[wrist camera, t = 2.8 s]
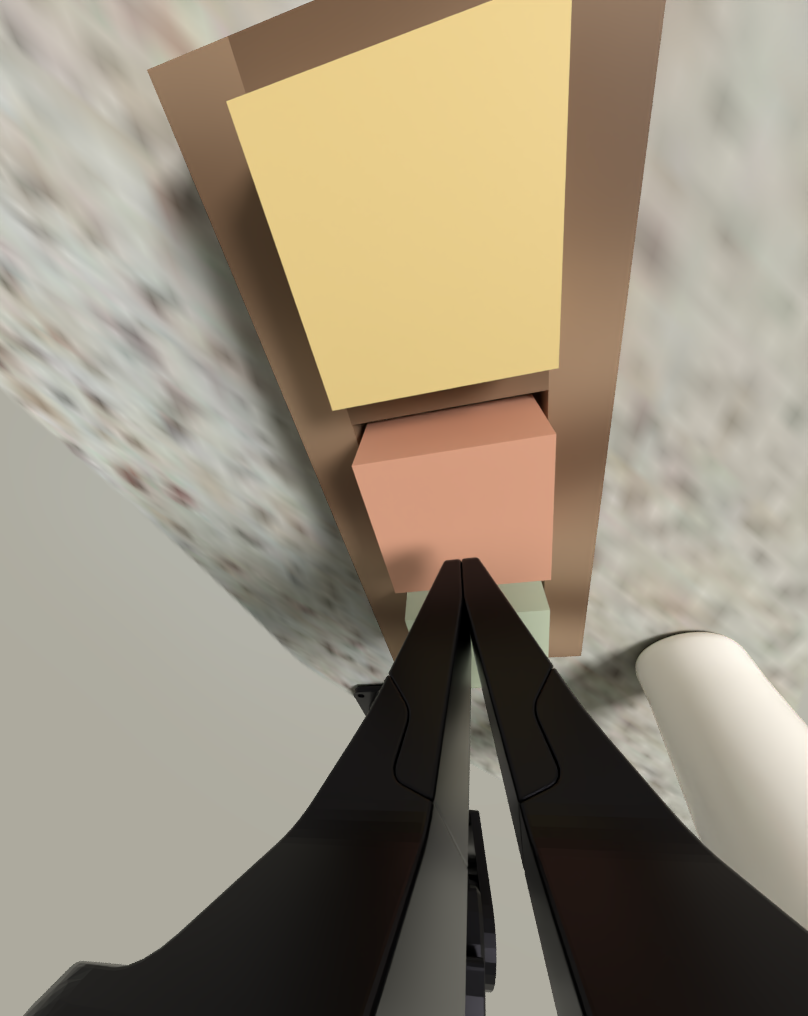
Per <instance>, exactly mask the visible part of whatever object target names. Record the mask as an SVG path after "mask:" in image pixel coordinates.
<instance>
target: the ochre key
mask: <svg viewBox="0 0 808 1016" xmlns="http://www.w3.org/2000/svg"><path fill="white" fill-rule="evenodd" d="M571 11H572V0H492V1H489V2H486V3H484V4H481V5H478V6H476V7H473V8H470V9H468V10H465V11H463V12H460V13H457V14H455V15H452V16H449V17H447V18H444V19H442V20H439V21H436V22H434V23H431V24H428V25H426V26H423V27H420V28H418V29H415V30H413V31H410V32H407V33H405V34H402V35H399V36H397V37H394V38H392V39H389V40H386V41H384V42H381V43H378V44H376V45H373V46H371V47H368V48H365V49H363V50H360V51H357V52H355V53H352V54H349V55H347V56H344V57H342V58H339V59H336V60H334V61H331V62H328V63H326V64H323V65H321V66H318V67H315V68H313V69H310V70H307V71H305V72H302V73H299V74H297V75H294V76H292V77H289V78H286V79H284V80H281V81H278V82H276V83H273V84H271V85H268V86H265V87H263V88H260V89H257V90H255V91H252V92H250V93H247V94H244V95H242V96H239V97H236V98H234V99H231V100H228V101H226V102H227V105H228V108H229V111H230V114H231V117H232V120H233V123H234V126H235V129H236V131H237V134H238V137H239V140H240V143H241V146H242V149H243V152H244V155H245V158H246V161H247V163H248V166H249V169H250V172H251V175H252V178H253V181H254V184H255V187H256V190H257V192H258V195H259V198H260V201H261V204H262V207H263V210H264V213H265V216H266V219H267V222H268V224H269V227H270V230H271V233H272V236H273V239H274V242H275V245H276V248H277V251H278V254H279V256H280V259H281V262H282V265H283V268H284V271H285V274H286V277H287V280H288V283H289V285H290V288H291V291H292V294H293V297H294V300H295V303H296V306H297V309H298V312H299V315H300V317H301V320H302V323H303V326H304V329H305V332H306V335H307V338H308V341H309V344H310V346H311V349H312V352H313V355H314V358H315V361H316V364H317V367H318V370H319V373H320V376H321V378H322V381H323V384H324V387H325V390H326V393H327V396H328V399H329V402H330V405H331V407H332V410H333V411H334V410H340V409H345V408H350V407H356V406H361V405H366V404H371V403H377V402H382V401H387V400H393V399H398V398H403V397H408V396H414V395H419V394H424V393H430V392H435V391H440V390H445V389H451V388H456V387H461V386H467V385H472V384H477V383H482V382H488V381H493V380H498V379H504V378H509V377H514V376H520V375H525V374H530V373H535V372H541V371H546V370H551V369H557V368H559V346H560V318H561V290H562V262H563V234H564V207H565V179H566V151H567V123H568V95H569V67H570V39H571Z"/></svg>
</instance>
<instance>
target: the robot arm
mask: <svg viewBox="0 0 808 1016" xmlns="http://www.w3.org/2000/svg"><path fill="white" fill-rule="evenodd" d="M471 641H472V646H471ZM472 647H473V652H474V657H475V661H476V665H477V670H478V674H479V678H480V682H481V687H482V691H483V695H484V700H485V704H486V708H487V713H488V717H489V721H490V726H491V730H492V734H493V739H494V743H495V747H496V751H497V756H498V760H499V764H500V769H501V773H502V777H503V782H504V786H505V790H506V795H507V799H508V803H509V807H510V812H511V816H512V821H513V825H514V829H515V833H516V837H517V842H518V846H519V851H520V854H521V859H522V864H523V868H524V870H525V877H526V881H527V885H528V889H529V894H530V898H531V903H532V907H533V911H534V916H535V920H536V924H537V928H538V933H539V937H540V941H541V945H542V950H543V954H544V959H545V963H546V967H547V972H548V976H549V980H550V984H551V989H552V993H553V997H554V1002H555V1006H556V1010H557V1014H558V1016H808V930H806V929H805V928H804V927H803V926H801V925H800V924H799V923H798V922H797V921H795V920H794V919H793V918H792V917H790V916H789V915H788V914H787V913H786V912H784V911H783V910H782V909H781V908H779V907H778V906H777V905H776V904H774V903H773V902H772V901H771V900H770V899H768V898H767V897H766V896H765V895H763V894H762V893H761V892H760V891H759V890H757V889H756V888H755V887H754V886H752V885H751V884H750V883H749V882H748V881H746V880H745V879H744V878H743V877H741V876H740V875H739V874H738V873H737V872H735V871H734V870H733V869H732V868H730V867H729V866H728V865H727V864H726V863H724V862H723V861H722V860H721V859H720V858H718V857H717V856H716V855H715V854H714V853H713V852H712V851H711V850H709V849H708V848H707V847H706V846H705V845H704V844H703V843H702V842H701V841H700V840H699V839H698V838H697V837H696V836H695V835H694V834H693V833H692V832H691V831H690V830H689V829H688V828H687V827H686V826H685V825H684V824H683V823H682V822H681V820H680V819H679V818H678V817H677V816H676V815H675V814H674V813H673V812H672V811H671V809H670V808H669V807H668V806H667V805H666V804H665V803H664V801H663V800H662V799H661V798H660V797H659V796H658V795H657V793H656V792H655V791H654V790H653V789H652V788H651V786H650V785H649V784H648V783H647V782H646V781H645V780H644V778H643V777H642V776H641V775H640V774H639V773H638V771H637V770H636V769H635V768H634V767H633V766H632V764H631V763H630V762H629V761H628V760H627V759H626V758H625V756H624V755H623V754H622V753H621V752H620V751H619V749H618V748H617V747H616V746H615V745H614V744H613V743H612V741H611V740H610V739H609V738H608V737H607V736H606V734H605V733H604V732H603V731H602V729H601V728H600V727H599V726H598V725H597V723H596V722H595V721H594V720H593V719H592V717H591V716H590V715H589V714H588V712H587V711H586V710H585V709H584V707H583V706H582V705H581V703H580V702H579V701H578V699H577V698H576V697H575V695H574V694H573V693H572V691H571V690H570V688H569V687H568V686H567V684H566V683H565V682H564V680H563V679H562V677H561V676H560V674H559V673H558V671H557V670H556V669H555V668H553V665H552V663H551V662H550V660H549V659H548V657H547V656H546V654H545V653H544V652H543V650H542V649H541V647H540V646H539V644H538V643H537V641H536V640H535V639H534V637H533V636H532V634H531V633H530V631H529V630H528V628H527V627H526V626H525V624H524V623H523V621H522V620H521V618H520V617H519V615H518V614H517V613H516V611H515V610H514V608H513V607H512V605H511V604H510V603H509V601H508V600H507V598H506V597H505V595H504V594H503V592H502V591H501V590H500V588H499V587H498V585H497V584H496V582H495V581H494V579H493V578H492V577H491V575H490V574H489V572H488V571H487V569H486V568H485V566H484V565H483V564H482V562H481V561H480V559H479V558H477V557H472V558H463V559H462V562H461V560H460V559H452V560H446V561H444V562H443V564H442V566H441V568H440V570H439V572H438V574H437V576H436V578H435V580H434V582H433V584H432V586H431V589H430V591H429V593H428V595H427V597H426V599H425V601H424V603H423V605H422V607H421V609H420V611H419V613H418V615H417V617H416V619H415V621H414V623H413V625H412V627H411V629H410V631H409V633H408V635H407V637H406V639H405V641H404V643H403V645H402V647H401V649H400V651H399V653H398V655H397V657H396V659H395V661H394V663H393V665H392V667H391V669H390V671H389V676H387V677H386V679H385V681H384V683H383V685H382V686H360V687H356V688H355V691H354V697H355V698H356V700H357V702H358V703H359V705H360V707H361V709H362V710H363V712H364V714H365V715H366V717H365V719H364V720H363V722H362V724H361V725H360V727H359V729H358V730H357V732H356V734H355V735H354V737H353V738H352V740H351V742H350V743H349V745H348V746H347V748H346V749H345V751H344V752H343V754H342V756H341V757H340V759H339V760H338V762H337V763H336V765H335V767H334V768H333V770H332V771H331V773H330V774H329V776H328V777H327V779H326V781H325V782H324V784H323V785H322V787H321V788H320V790H319V792H318V793H317V795H316V796H315V798H314V799H313V801H312V802H311V804H310V805H309V807H308V808H307V810H306V811H305V813H304V814H303V815H302V816H301V818H300V819H299V820H298V822H297V823H296V824H295V825H294V826H293V828H292V829H291V830H290V831H289V832H288V833H287V834H286V835H285V836H284V837H283V838H282V839H281V840H280V841H279V842H278V843H277V844H276V845H275V846H274V847H273V848H272V849H270V850H269V851H268V852H267V853H266V854H265V855H264V856H263V857H262V858H260V859H259V860H258V861H257V862H256V863H255V864H254V865H253V866H252V867H251V868H249V869H248V870H247V871H246V872H245V873H244V874H243V875H242V876H241V877H240V878H238V879H237V881H235V882H234V883H233V884H232V885H231V886H230V887H229V888H228V889H226V890H225V891H224V892H223V893H222V894H221V895H220V896H219V897H218V898H217V899H215V900H214V901H213V902H212V903H211V904H210V905H209V906H208V907H207V908H206V909H205V910H203V911H202V912H201V913H200V914H199V915H198V916H197V917H196V918H195V919H194V920H192V921H191V922H190V923H189V924H188V925H187V926H186V927H185V928H184V929H182V930H181V931H180V932H179V933H178V934H177V935H176V936H175V937H173V938H172V939H171V940H170V941H168V942H167V943H166V944H165V945H164V946H162V947H161V948H160V949H158V950H157V951H155V952H153V953H152V954H150V955H149V956H147V957H145V958H144V959H142V960H140V961H137V962H135V963H132V964H130V965H121V964H110V963H100V962H87V961H79V962H77V963H75V964H74V965H72V966H71V967H70V968H69V969H68V970H67V971H66V972H65V973H64V974H63V975H62V976H61V977H60V978H59V979H58V980H57V981H56V982H55V983H54V984H53V985H52V986H51V987H50V988H49V989H48V990H47V991H46V992H45V993H44V994H43V995H42V996H41V997H40V998H39V999H38V1000H37V1001H36V1002H35V1003H34V1004H33V1005H32V1006H31V1007H30V1008H29V1010H28V1011H27V1012H26V1013H25V1014H24V1015H23V1016H485V992H492V991H493V989H494V985H495V978H496V934H495V923H494V913H493V905H492V898H491V891H490V885H489V878H488V871H487V864H486V857H485V850H484V843H483V836H482V829H481V823H480V816H479V811H475V810H469V770H470V767H469V766H470V717H471V664H472Z"/></svg>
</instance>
